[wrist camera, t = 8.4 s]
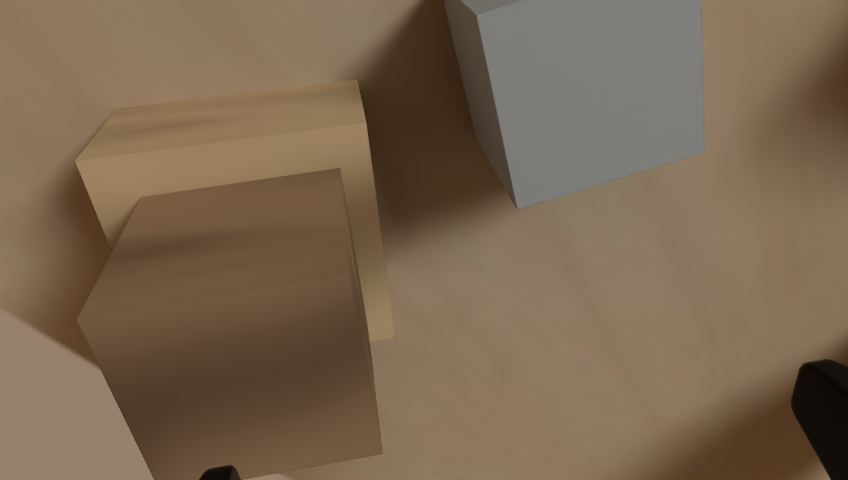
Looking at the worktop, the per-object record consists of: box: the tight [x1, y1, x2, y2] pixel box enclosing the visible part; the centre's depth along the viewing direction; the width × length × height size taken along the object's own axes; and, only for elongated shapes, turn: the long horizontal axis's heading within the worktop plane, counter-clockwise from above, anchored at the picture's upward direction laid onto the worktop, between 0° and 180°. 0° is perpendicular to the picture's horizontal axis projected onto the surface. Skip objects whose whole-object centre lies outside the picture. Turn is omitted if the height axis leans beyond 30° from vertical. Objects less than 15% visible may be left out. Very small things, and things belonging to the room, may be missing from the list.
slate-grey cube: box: [443, 0, 704, 209], centre depth 17 cm, size 5×5×5 cm
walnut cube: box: [77, 168, 383, 480], centre depth 15 cm, size 5×5×5 cm
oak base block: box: [75, 79, 395, 342], centre depth 19 cm, size 7×7×4 cm
